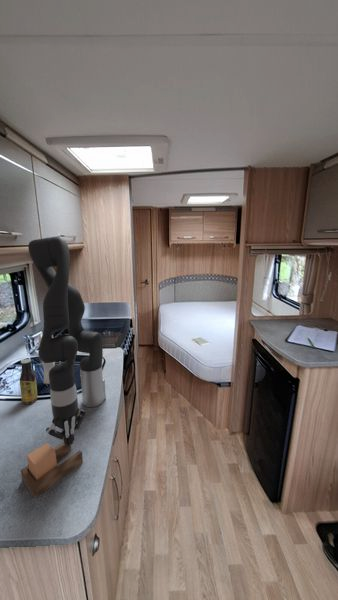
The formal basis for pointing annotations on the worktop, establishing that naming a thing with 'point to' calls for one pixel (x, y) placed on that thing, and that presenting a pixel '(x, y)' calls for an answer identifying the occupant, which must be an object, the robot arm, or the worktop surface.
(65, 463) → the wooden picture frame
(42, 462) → the block
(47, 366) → the skyscraper
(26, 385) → the sauce bottle
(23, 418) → the worktop surface
